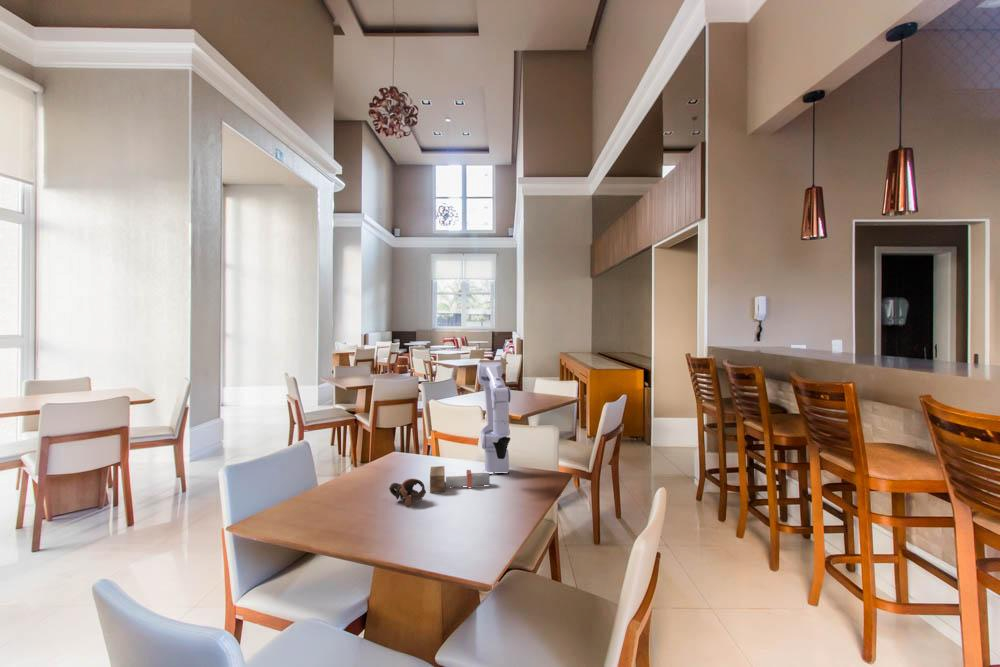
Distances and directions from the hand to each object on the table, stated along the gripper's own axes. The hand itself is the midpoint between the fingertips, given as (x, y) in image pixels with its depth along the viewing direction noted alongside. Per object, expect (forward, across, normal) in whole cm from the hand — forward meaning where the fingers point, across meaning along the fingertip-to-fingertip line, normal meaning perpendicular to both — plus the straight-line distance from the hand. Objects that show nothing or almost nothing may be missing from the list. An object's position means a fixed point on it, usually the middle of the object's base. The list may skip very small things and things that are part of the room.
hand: (501, 458), depth 172 cm
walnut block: (+9, +10, -21) cm, 25 cm away
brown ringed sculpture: (+10, +26, -23) cm, 36 cm away
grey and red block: (+10, +6, -11) cm, 16 cm away
